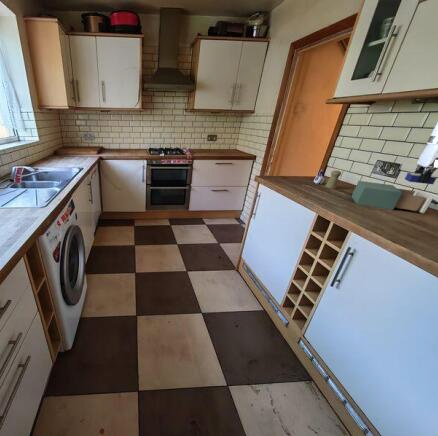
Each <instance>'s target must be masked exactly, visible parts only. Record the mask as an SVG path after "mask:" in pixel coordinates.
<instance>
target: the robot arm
mask: <svg viewBox="0 0 438 436" xmlns="http://www.w3.org/2000/svg"><path fill="white" fill-rule="evenodd" d="M426 144H427V145H426V146H425V147H424V150H423V151H422V153H421V154H420V156H419V158H418V159H417V162H416V163H417V166H416V168H415V171H414V172H413V173H417V174H421V175H420V177H419V179H418V181H417V182H420V183H419V184H425V183H427V182H428V180H429V179H430V177H431V175H432V176H433V174H434V172H436V171H437V170H438V121H437V123H436V124H435V126H434V128H433V129H432V132H431V134H430V135H429V138H428V139H427V141H426Z"/></svg>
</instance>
